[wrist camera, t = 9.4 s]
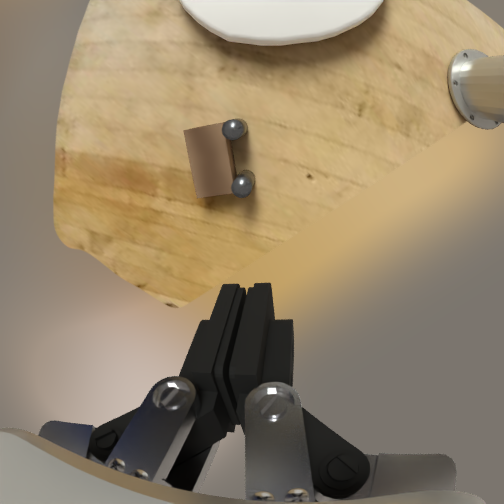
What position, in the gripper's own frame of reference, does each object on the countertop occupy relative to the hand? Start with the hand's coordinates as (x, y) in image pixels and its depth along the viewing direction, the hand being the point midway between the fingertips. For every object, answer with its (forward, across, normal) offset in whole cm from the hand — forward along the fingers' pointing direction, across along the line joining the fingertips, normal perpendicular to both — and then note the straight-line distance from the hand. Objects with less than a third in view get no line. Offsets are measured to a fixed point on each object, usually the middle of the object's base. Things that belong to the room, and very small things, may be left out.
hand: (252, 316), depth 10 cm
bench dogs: (+30, +5, -2) cm, 30 cm away
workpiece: (+30, +9, -1) cm, 31 cm away
